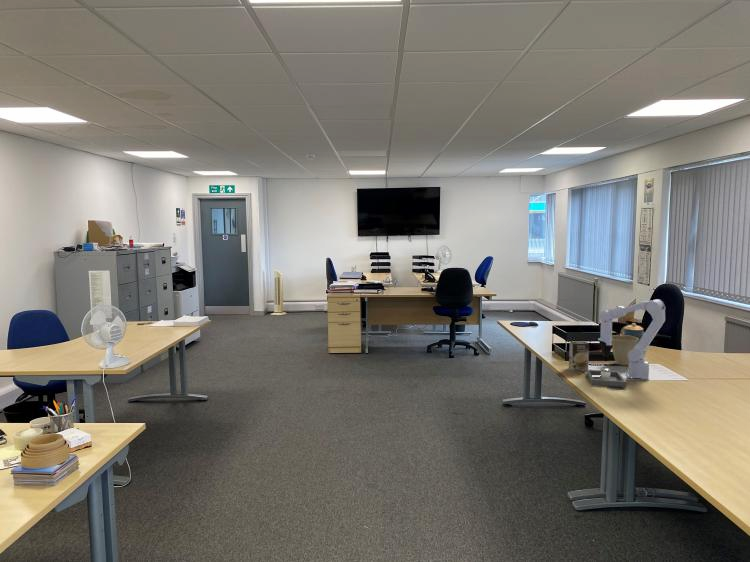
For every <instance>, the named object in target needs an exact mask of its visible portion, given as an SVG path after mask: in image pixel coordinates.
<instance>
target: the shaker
mask: <svg viewBox="0 0 750 562" xmlns="http://www.w3.org/2000/svg"><path fill="white" fill-rule="evenodd" d="M600 371H601V380H610V371H611V368H608V367H601V368H600Z"/></svg>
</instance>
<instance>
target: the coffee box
mask: <svg viewBox="0 0 750 562" xmlns="http://www.w3.org/2000/svg"><path fill="white" fill-rule="evenodd" d="M568 357H569V358H568V369H570V370H571V371H572V372H583V371H582V370H589V361H590V360H589V357H590V343H589V342H587V341H577V340H576V341H575V340H572V341H571V340H570V341H569V354H568Z"/></svg>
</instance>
